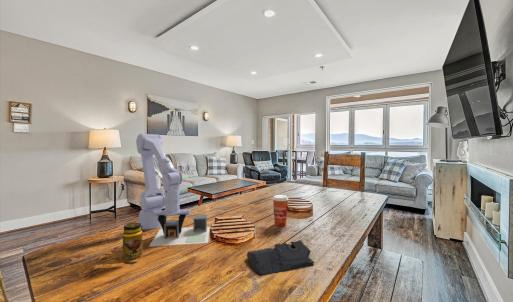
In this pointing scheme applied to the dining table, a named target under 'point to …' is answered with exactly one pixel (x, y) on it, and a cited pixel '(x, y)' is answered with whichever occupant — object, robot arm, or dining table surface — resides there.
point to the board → (182, 237)
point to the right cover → (200, 221)
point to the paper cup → (280, 210)
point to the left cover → (171, 224)
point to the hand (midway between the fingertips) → (172, 232)
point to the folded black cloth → (280, 258)
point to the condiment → (132, 242)
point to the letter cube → (172, 232)
